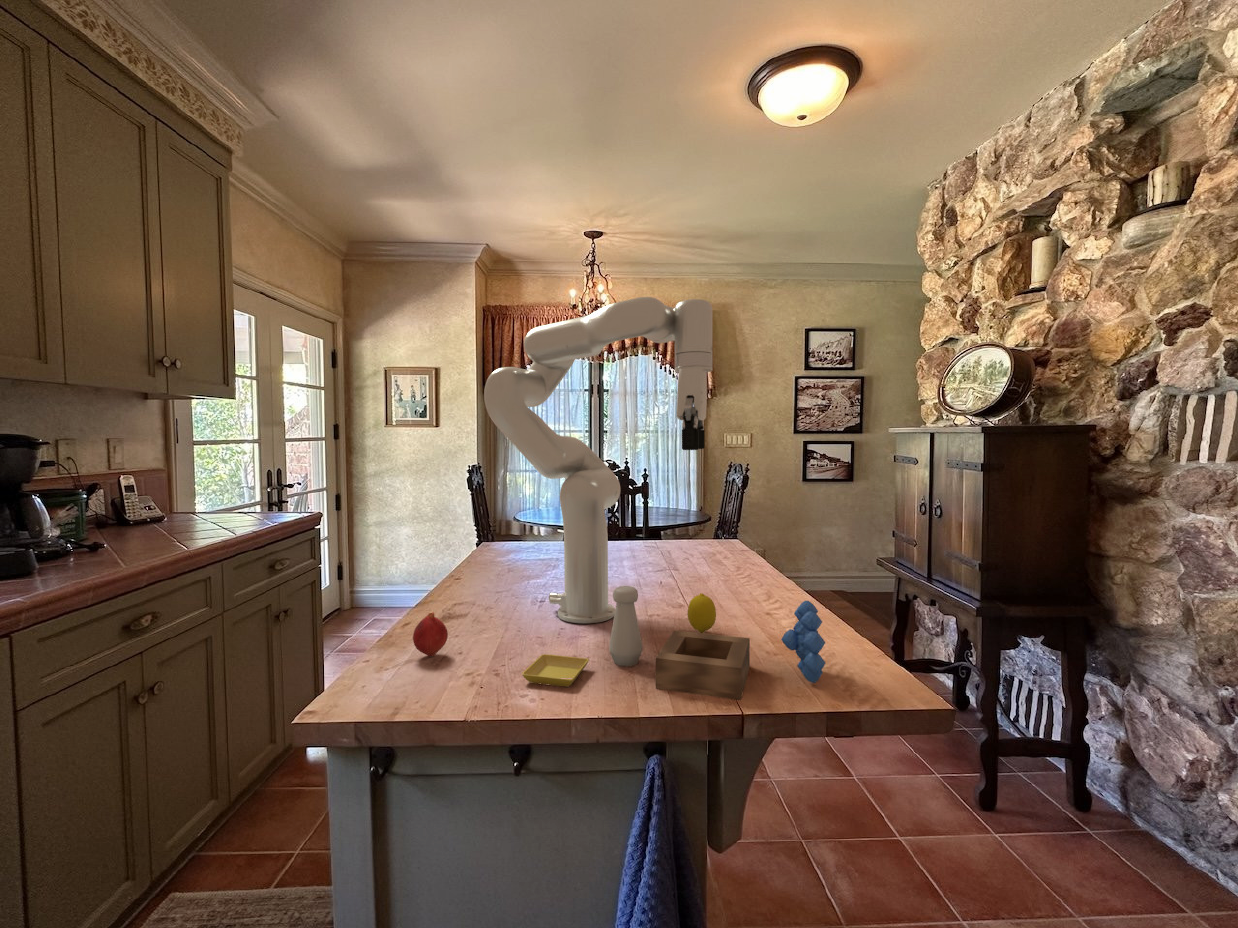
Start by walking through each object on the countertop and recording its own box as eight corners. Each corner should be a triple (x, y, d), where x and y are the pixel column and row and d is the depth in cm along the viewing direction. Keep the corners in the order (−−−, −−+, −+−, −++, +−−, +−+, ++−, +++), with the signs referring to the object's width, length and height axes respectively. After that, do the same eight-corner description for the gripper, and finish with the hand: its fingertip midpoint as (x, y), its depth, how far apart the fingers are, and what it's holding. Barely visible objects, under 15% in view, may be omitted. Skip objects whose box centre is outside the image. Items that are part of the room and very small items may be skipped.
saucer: (572, 693, 87) (572, 679, 87) (520, 686, 89) (520, 673, 89) (590, 670, 95) (590, 658, 95) (542, 665, 97) (542, 653, 97)
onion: (416, 665, 97) (414, 619, 97) (411, 653, 102) (410, 610, 102) (450, 658, 100) (449, 614, 99) (444, 648, 105) (443, 605, 104)
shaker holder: (655, 688, 87) (655, 657, 87) (674, 657, 100) (674, 630, 99) (741, 700, 83) (741, 668, 83) (749, 665, 96) (749, 638, 95)
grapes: (775, 661, 98) (775, 592, 97) (815, 662, 97) (816, 593, 96) (786, 691, 86) (787, 613, 86) (833, 693, 85) (833, 614, 85)
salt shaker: (639, 669, 94) (639, 592, 94) (606, 667, 95) (605, 591, 95) (644, 656, 100) (644, 583, 99) (613, 654, 101) (612, 582, 101)
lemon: (718, 630, 113) (718, 590, 113) (713, 639, 108) (713, 598, 108) (690, 627, 115) (690, 588, 115) (684, 636, 110) (684, 595, 110)
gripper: (681, 369, 122) (681, 448, 123) (667, 359, 106) (667, 450, 107) (716, 368, 120) (716, 448, 121) (707, 357, 104) (707, 450, 105)
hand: (693, 449), depth 114 cm, fingers open, 9 cm apart
